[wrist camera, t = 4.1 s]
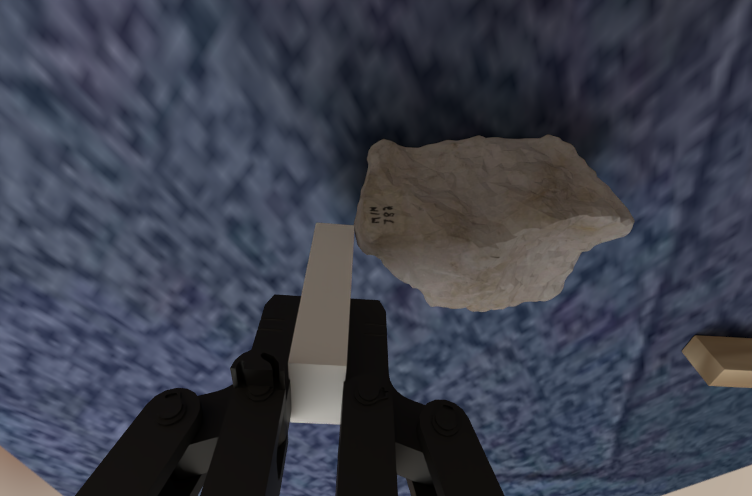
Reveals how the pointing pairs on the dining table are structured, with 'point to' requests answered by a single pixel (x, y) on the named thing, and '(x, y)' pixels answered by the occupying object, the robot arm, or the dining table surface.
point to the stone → (484, 217)
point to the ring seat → (721, 360)
